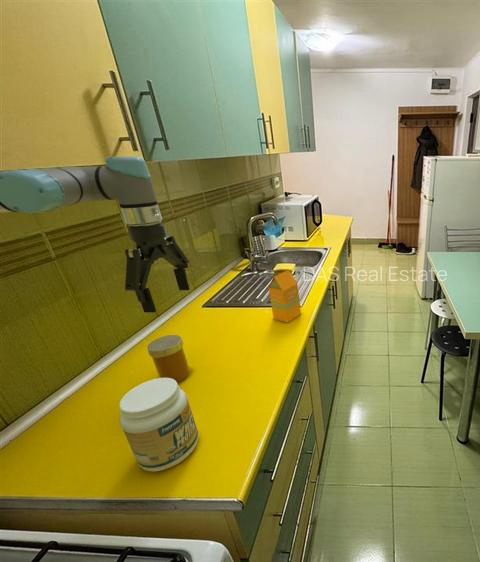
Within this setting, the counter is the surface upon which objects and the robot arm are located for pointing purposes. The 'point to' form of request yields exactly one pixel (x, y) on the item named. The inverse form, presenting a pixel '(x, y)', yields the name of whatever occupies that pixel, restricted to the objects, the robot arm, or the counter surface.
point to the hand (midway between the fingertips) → (168, 300)
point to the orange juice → (284, 297)
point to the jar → (173, 366)
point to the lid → (165, 346)
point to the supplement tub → (158, 424)
